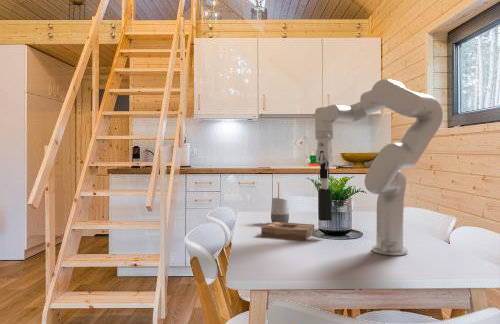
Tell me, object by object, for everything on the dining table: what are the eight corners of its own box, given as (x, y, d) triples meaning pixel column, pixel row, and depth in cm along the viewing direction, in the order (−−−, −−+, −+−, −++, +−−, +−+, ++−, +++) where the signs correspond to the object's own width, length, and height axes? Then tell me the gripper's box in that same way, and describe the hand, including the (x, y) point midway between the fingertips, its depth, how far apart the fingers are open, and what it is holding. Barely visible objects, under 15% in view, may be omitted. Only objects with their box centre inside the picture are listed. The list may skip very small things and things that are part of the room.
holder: (305, 240, 164) (305, 230, 164) (261, 236, 172) (261, 226, 172) (314, 233, 179) (314, 223, 179) (273, 229, 187) (273, 220, 187)
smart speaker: (292, 223, 203) (292, 197, 203) (282, 226, 196) (282, 198, 196) (277, 221, 209) (277, 195, 209) (267, 224, 202) (267, 197, 202)
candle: (329, 218, 171) (328, 162, 171) (332, 220, 166) (331, 162, 166) (318, 218, 171) (317, 162, 171) (320, 220, 166) (319, 162, 166)
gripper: (329, 134, 159) (329, 179, 159) (336, 136, 174) (336, 177, 174) (311, 135, 162) (311, 179, 162) (319, 137, 177) (320, 177, 177)
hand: (324, 177), depth 168 cm, fingers closed on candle, 3 cm apart
